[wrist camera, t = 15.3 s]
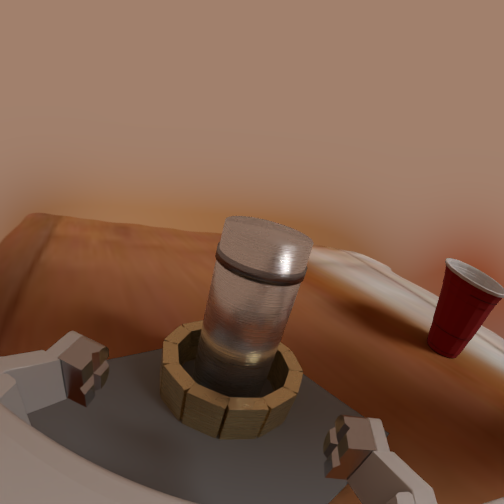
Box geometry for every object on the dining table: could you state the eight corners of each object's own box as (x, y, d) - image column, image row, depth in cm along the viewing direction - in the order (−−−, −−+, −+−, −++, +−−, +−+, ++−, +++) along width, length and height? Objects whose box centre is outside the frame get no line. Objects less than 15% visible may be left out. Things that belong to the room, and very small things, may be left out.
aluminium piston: (230, 359, 24) (268, 217, 20) (274, 398, 21) (332, 246, 17) (175, 376, 20) (205, 213, 17) (219, 425, 17) (271, 249, 13)
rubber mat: (241, 336, 30) (243, 328, 29) (383, 441, 19) (389, 433, 18) (-3, 386, 13) (-7, 376, 13) (105, 628, 2) (102, 629, 2)
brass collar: (232, 339, 27) (240, 312, 26) (312, 404, 21) (327, 375, 20) (137, 364, 20) (138, 332, 19) (214, 461, 14) (223, 433, 13)
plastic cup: (433, 368, 30) (477, 280, 27) (401, 326, 41) (432, 251, 37) (483, 370, 31) (521, 294, 28) (449, 333, 42) (479, 267, 38)
